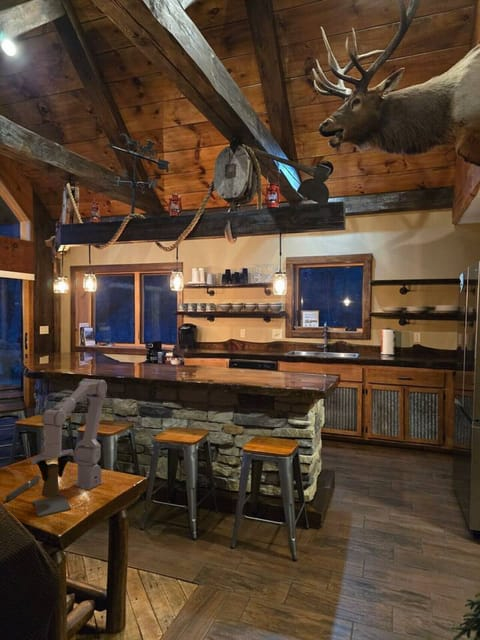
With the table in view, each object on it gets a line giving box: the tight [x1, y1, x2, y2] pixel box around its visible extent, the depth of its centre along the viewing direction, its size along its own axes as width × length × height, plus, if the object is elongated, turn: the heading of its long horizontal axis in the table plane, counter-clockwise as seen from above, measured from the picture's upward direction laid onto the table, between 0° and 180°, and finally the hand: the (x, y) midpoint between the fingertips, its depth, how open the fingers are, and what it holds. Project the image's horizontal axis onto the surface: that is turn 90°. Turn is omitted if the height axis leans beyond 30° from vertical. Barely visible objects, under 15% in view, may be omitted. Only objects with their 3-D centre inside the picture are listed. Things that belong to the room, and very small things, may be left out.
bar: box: [5, 475, 40, 502], centre depth 164 cm, size 19×2×2 cm, turn 173°
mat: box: [32, 494, 72, 518], centre depth 152 cm, size 13×11×1 cm
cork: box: [41, 462, 60, 498], centre depth 153 cm, size 6×6×11 cm
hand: (52, 478), depth 152 cm, fingers closed on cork, 5 cm apart
